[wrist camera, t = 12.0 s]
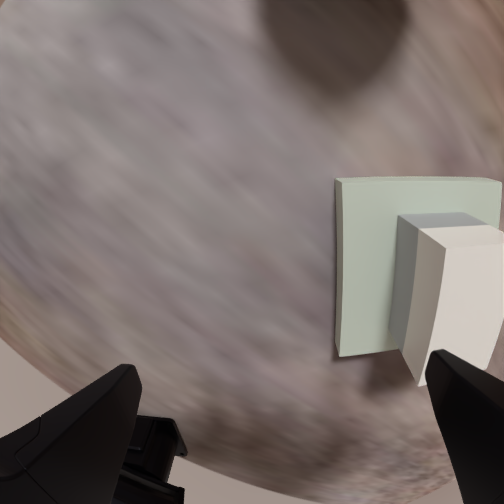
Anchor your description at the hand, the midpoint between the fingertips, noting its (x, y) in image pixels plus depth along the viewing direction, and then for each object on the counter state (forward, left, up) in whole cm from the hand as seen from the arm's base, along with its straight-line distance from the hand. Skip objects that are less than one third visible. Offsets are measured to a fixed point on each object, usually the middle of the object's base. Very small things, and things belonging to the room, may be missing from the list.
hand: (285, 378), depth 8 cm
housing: (-2, -10, -11) cm, 15 cm away
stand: (-2, -10, -13) cm, 16 cm away
